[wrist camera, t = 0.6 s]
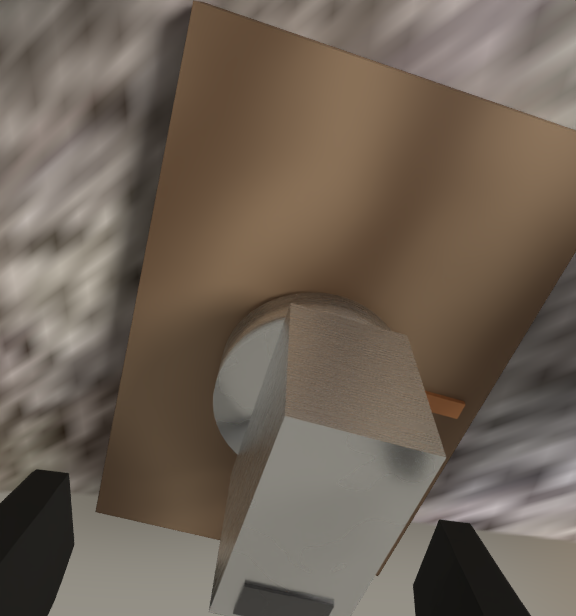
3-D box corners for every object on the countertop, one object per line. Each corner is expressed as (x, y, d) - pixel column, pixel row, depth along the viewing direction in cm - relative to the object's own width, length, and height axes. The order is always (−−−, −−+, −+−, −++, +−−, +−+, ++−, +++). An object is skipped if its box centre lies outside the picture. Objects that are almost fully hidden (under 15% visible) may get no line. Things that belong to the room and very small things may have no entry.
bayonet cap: (436, 315, 18) (507, 476, 12) (361, 464, 21) (385, 652, 15) (250, 261, 17) (218, 402, 11) (201, 424, 20) (155, 604, 14)
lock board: (609, 142, 17) (639, 154, 15) (374, 547, 26) (378, 580, 25) (202, 1, 15) (191, 0, 14) (106, 485, 25) (93, 515, 23)
